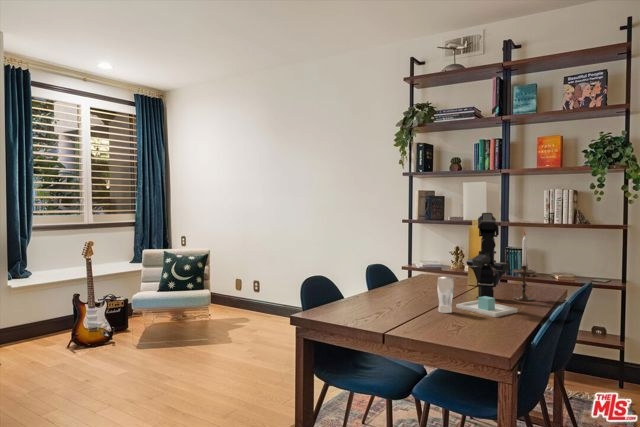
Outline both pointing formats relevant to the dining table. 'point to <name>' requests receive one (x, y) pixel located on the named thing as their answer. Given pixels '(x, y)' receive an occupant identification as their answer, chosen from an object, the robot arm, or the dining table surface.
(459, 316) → the dining table surface
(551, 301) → the dining table surface
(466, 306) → the tray
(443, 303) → the beer glass
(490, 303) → the block
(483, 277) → the robot arm
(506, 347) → the dining table surface
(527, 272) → the candlestick
